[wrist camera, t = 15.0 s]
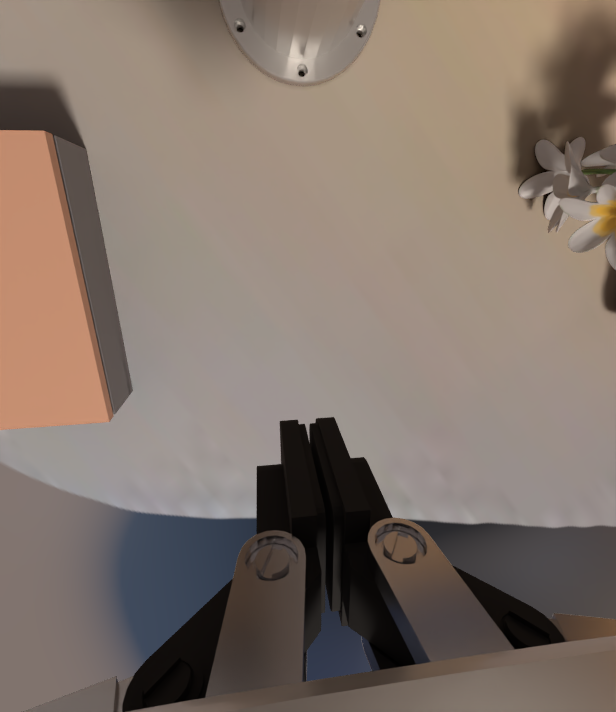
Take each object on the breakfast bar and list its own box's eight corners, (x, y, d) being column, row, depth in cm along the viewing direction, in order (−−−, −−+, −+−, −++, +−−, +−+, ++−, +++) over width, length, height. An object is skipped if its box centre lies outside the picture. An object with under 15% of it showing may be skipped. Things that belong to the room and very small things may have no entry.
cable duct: (-62, 147, 29) (-122, 133, 25) (86, 149, 31) (55, 135, 26) (16, 398, 37) (-19, 423, 32) (132, 390, 38) (115, 414, 33)
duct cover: (-136, 131, 24) (-152, 128, 23) (52, 134, 25) (44, 130, 25) (-28, 426, 32) (-37, 432, 31) (113, 416, 33) (109, 421, 32)
